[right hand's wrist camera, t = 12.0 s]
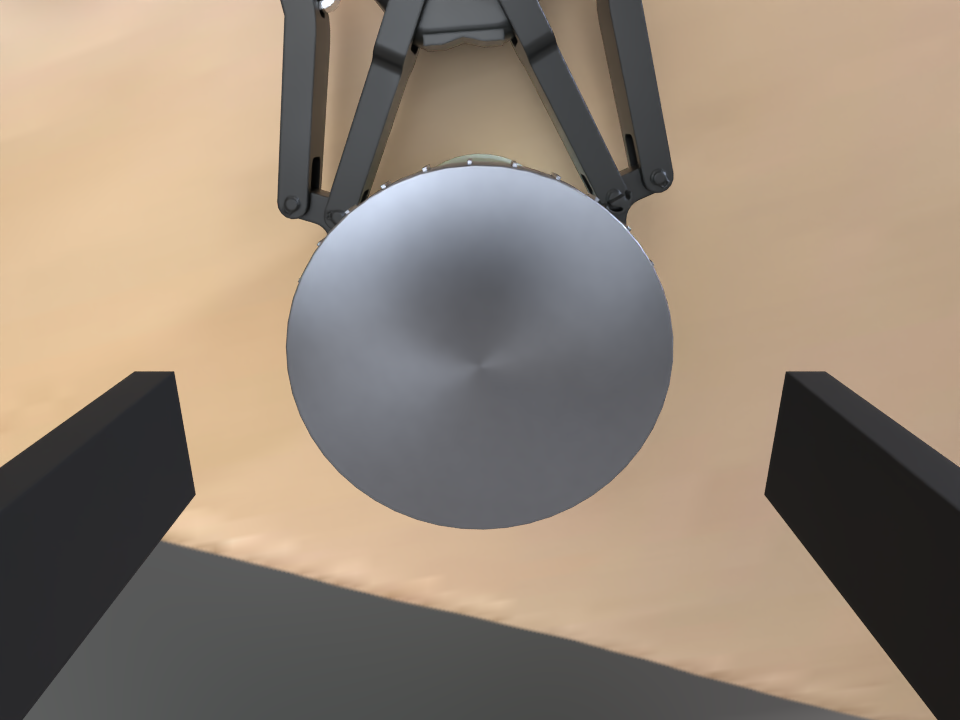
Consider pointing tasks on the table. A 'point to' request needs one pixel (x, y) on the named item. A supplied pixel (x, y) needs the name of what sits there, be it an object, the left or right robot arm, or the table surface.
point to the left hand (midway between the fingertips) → (486, 360)
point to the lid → (479, 345)
